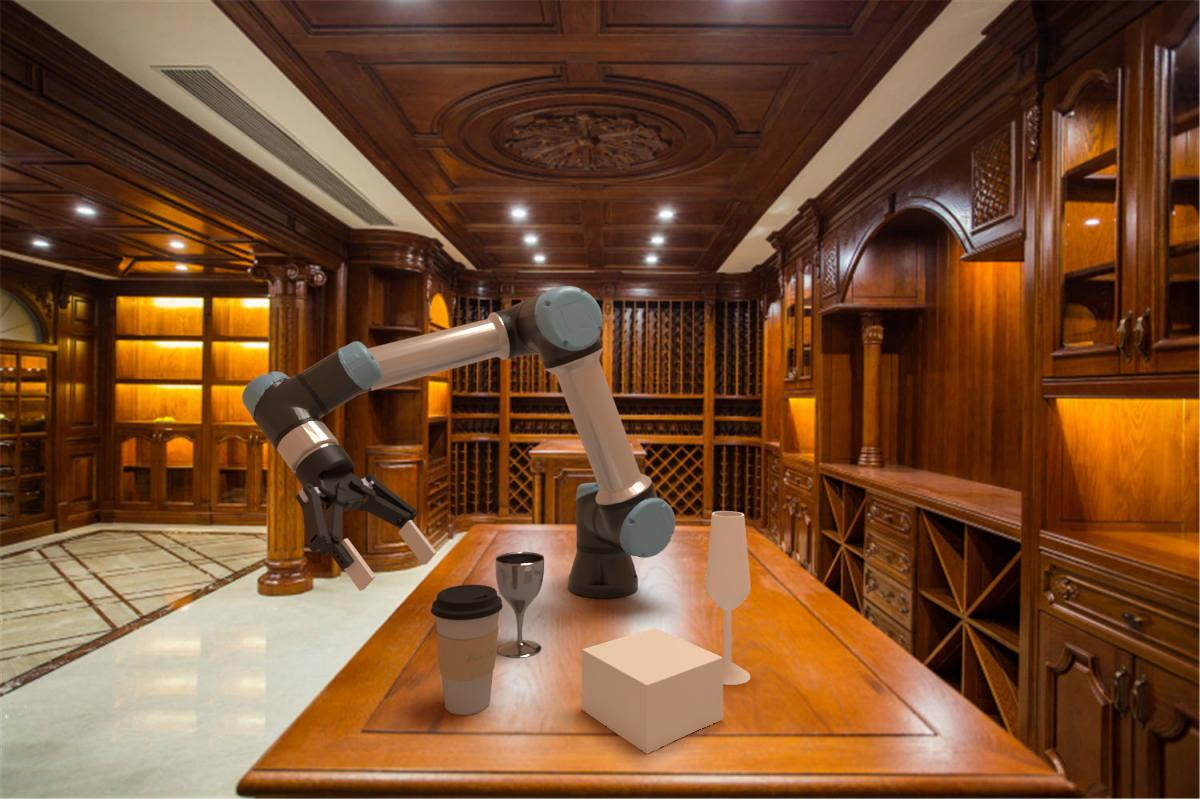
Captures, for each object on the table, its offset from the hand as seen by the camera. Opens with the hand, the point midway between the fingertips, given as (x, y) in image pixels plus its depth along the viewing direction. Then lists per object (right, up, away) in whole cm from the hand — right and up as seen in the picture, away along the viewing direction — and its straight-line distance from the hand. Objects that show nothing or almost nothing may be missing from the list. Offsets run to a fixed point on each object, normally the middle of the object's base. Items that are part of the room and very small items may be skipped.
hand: (401, 570), depth 88 cm
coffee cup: (+10, -17, -4) cm, 20 cm away
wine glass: (+15, -17, +15) cm, 27 cm away
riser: (+35, -17, -6) cm, 39 cm away
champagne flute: (+47, -17, +6) cm, 50 cm away
